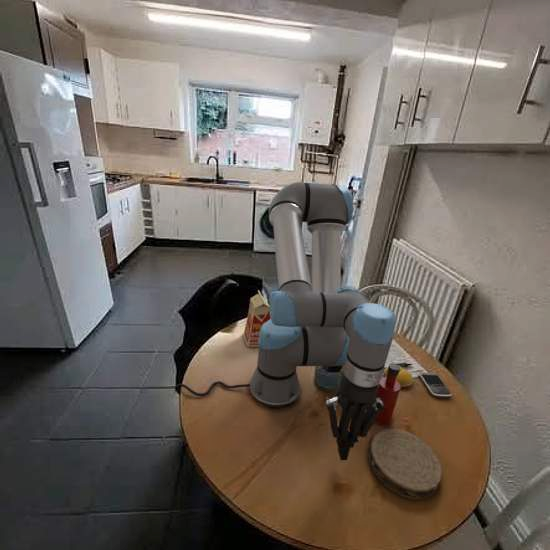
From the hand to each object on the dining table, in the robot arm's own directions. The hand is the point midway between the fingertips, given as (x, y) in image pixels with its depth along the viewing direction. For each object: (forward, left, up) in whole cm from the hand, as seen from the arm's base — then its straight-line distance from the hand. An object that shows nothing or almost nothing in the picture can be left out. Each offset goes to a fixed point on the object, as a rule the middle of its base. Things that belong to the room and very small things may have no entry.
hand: (342, 454), depth 73 cm
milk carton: (-19, +50, -4) cm, 54 cm away
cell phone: (+39, +27, -4) cm, 47 cm away
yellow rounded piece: (+28, +30, -4) cm, 41 cm away
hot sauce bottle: (+16, +14, -4) cm, 22 cm away
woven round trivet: (+16, 0, -4) cm, 16 cm away
